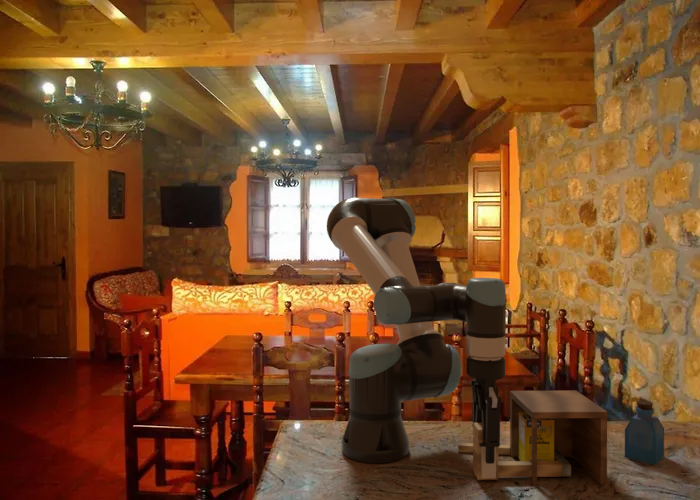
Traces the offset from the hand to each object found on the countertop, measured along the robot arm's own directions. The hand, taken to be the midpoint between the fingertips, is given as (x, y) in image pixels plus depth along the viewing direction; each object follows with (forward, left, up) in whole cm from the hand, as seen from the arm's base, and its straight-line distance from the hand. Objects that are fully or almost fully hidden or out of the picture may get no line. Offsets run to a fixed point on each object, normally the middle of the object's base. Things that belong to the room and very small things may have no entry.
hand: (485, 472), depth 112 cm
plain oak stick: (-4, +13, -2) cm, 14 cm away
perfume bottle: (+27, +27, -1) cm, 39 cm away
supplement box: (+8, +10, -1) cm, 13 cm away
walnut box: (+11, +12, -1) cm, 16 cm away
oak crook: (+4, +7, -1) cm, 8 cm away
